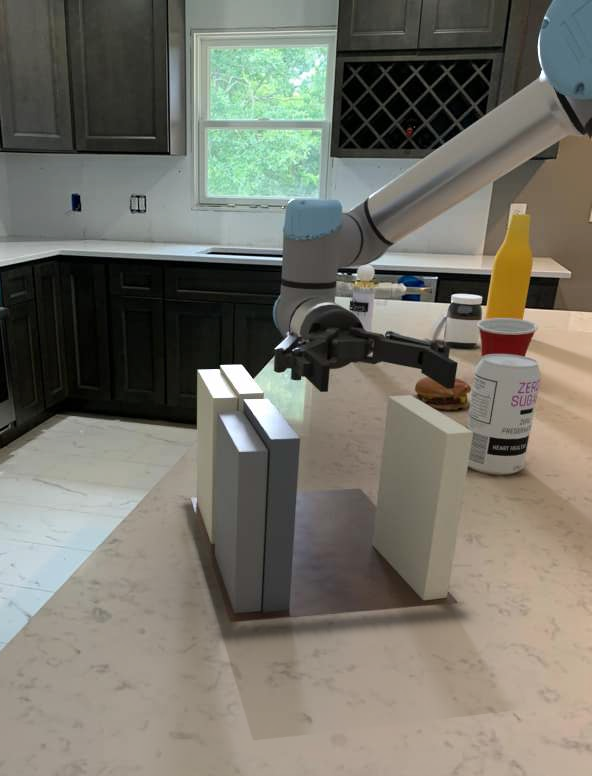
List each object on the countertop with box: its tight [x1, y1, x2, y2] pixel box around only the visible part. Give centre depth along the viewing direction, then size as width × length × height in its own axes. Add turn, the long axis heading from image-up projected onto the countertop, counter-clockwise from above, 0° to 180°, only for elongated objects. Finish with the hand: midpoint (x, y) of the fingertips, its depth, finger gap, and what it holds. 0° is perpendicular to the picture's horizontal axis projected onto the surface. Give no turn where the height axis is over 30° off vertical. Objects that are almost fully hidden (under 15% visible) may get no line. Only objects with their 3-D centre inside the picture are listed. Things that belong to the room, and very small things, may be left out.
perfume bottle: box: [348, 263, 380, 357], centre depth 155 cm, size 6×6×20 cm
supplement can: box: [465, 354, 542, 476], centre depth 98 cm, size 8×8×15 cm
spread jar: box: [427, 293, 483, 350], centre depth 172 cm, size 12×11×12 cm
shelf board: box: [189, 488, 459, 623], centre depth 76 cm, size 21×26×2 cm
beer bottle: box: [483, 213, 534, 320], centre depth 181 cm, size 9×9×29 cm
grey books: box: [215, 398, 301, 613], centre depth 65 cm, size 5×11×16 cm, turn 10°
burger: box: [414, 376, 472, 411], centre depth 127 cm, size 10×9×5 cm
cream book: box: [372, 394, 473, 601], centre depth 68 cm, size 2×11×16 cm, turn 15°
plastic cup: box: [477, 318, 539, 361], centre depth 139 cm, size 11×11×12 cm
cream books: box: [196, 364, 265, 544], centre depth 77 cm, size 5×11×16 cm, turn 10°
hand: (390, 377), depth 74 cm, fingers open, 13 cm apart
